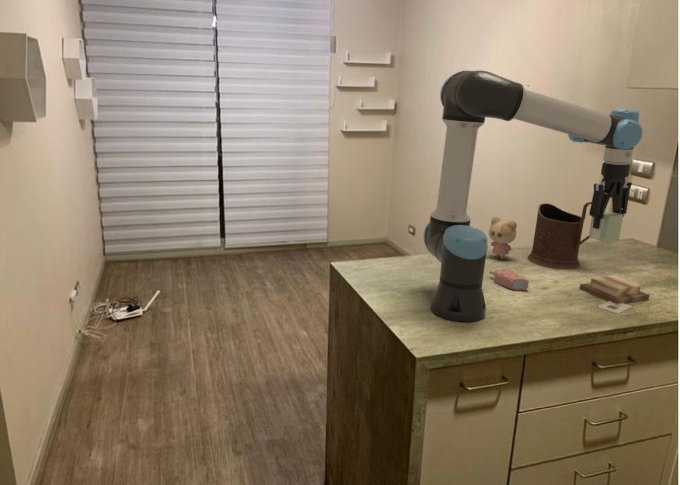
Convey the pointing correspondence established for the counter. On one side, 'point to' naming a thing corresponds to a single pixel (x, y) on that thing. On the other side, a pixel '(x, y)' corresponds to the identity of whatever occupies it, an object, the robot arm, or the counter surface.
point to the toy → (502, 236)
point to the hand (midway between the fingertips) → (603, 237)
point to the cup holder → (557, 238)
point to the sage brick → (609, 226)
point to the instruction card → (614, 307)
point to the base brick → (615, 289)
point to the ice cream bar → (510, 280)
